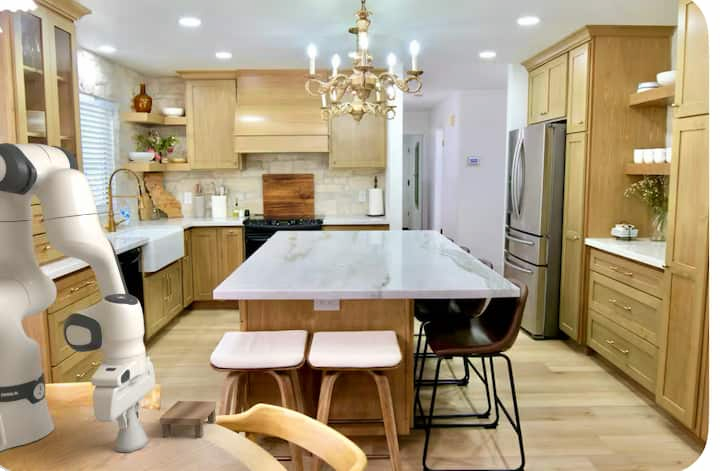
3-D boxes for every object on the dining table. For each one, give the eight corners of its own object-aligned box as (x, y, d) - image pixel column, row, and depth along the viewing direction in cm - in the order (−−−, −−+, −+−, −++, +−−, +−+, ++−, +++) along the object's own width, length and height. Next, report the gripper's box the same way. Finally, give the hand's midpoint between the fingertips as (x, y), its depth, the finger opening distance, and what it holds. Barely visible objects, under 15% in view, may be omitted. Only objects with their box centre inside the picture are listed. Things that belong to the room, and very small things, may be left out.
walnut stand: (161, 438, 131) (159, 417, 130) (179, 419, 140) (178, 400, 140) (201, 439, 129) (200, 418, 129) (217, 420, 139) (216, 401, 139)
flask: (107, 450, 125) (103, 407, 124) (132, 436, 132) (129, 396, 131) (130, 455, 122) (126, 412, 121) (155, 441, 129) (151, 400, 128)
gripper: (136, 350, 136) (139, 404, 137) (85, 381, 116) (90, 443, 117) (160, 351, 135) (163, 405, 137) (114, 381, 115) (118, 444, 116)
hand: (129, 423), depth 127 cm, fingers closed on flask, 3 cm apart
